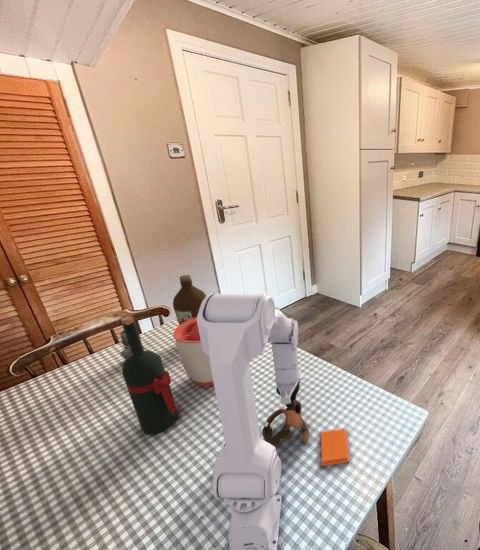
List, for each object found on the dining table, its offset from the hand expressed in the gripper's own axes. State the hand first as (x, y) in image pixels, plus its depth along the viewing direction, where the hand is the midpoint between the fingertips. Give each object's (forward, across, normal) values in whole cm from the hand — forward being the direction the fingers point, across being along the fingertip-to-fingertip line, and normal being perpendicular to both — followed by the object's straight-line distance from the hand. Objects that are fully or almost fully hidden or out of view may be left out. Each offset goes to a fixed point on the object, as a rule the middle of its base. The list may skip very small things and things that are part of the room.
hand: (290, 404), depth 79 cm
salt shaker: (+2, +30, +52) cm, 61 cm away
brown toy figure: (+2, -7, 0) cm, 8 cm away
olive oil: (+2, +39, +36) cm, 53 cm away
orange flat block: (+2, -13, -10) cm, 17 cm away
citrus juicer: (+2, +18, +24) cm, 30 cm away
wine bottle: (+2, +1, +32) cm, 32 cm away
